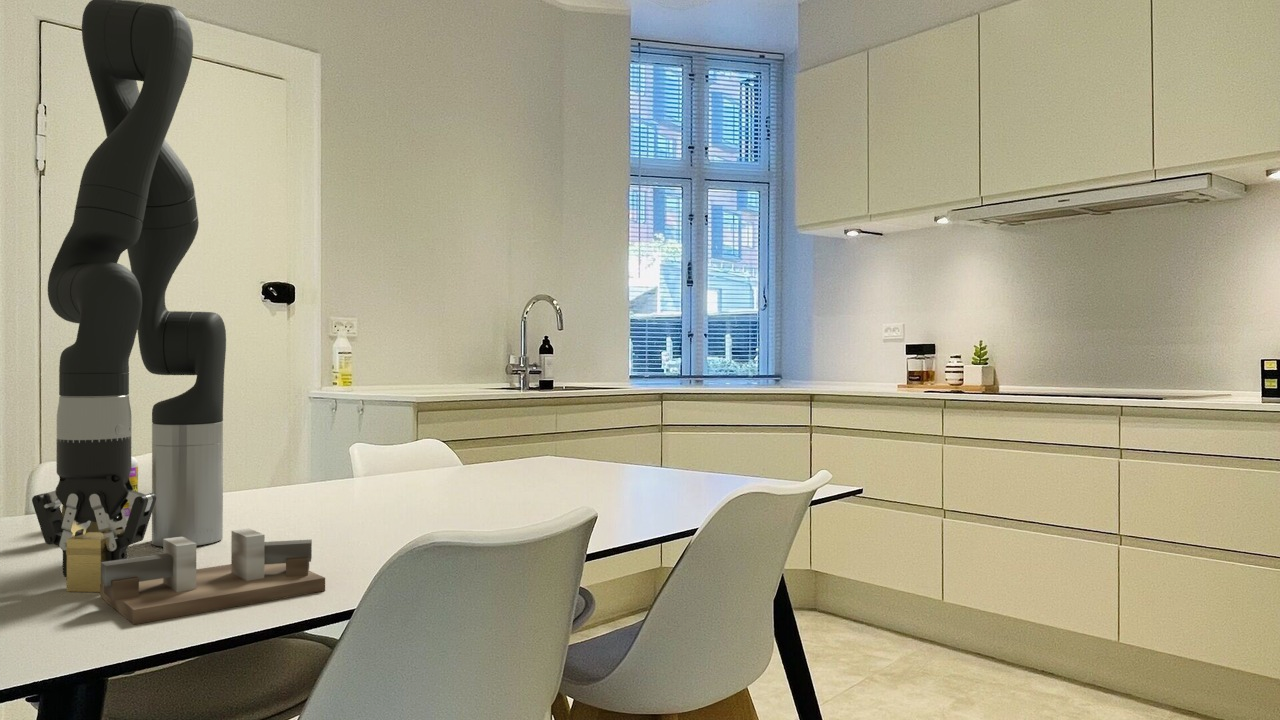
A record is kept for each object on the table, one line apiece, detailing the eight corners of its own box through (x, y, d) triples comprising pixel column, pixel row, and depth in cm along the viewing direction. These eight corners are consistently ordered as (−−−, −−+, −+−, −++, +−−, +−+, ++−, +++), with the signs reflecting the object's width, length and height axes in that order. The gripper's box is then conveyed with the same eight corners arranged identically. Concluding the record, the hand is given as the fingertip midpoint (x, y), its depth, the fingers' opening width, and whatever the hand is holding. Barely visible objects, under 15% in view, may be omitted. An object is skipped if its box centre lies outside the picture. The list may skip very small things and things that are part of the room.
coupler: (66, 591, 105) (66, 539, 105) (89, 582, 109) (89, 532, 109) (100, 592, 105) (100, 539, 105) (122, 583, 109) (122, 532, 109)
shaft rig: (87, 598, 102) (88, 540, 102) (283, 568, 117) (283, 517, 117) (120, 627, 92) (120, 562, 92) (330, 589, 107) (330, 534, 107)
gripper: (172, 432, 110) (171, 574, 110) (57, 430, 111) (57, 572, 111) (135, 438, 103) (134, 590, 103) (12, 436, 103) (12, 588, 104)
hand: (94, 580), depth 107 cm, fingers closed on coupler, 4 cm apart
